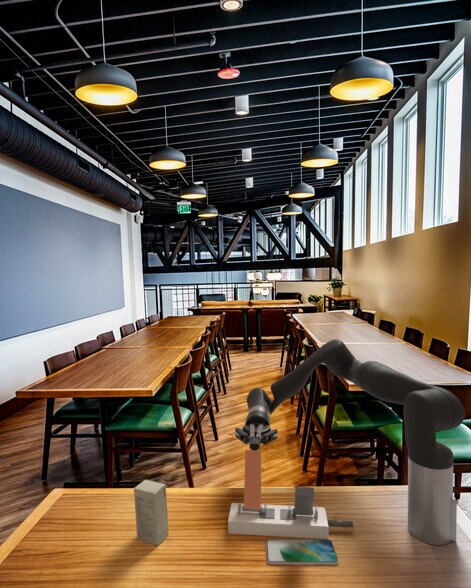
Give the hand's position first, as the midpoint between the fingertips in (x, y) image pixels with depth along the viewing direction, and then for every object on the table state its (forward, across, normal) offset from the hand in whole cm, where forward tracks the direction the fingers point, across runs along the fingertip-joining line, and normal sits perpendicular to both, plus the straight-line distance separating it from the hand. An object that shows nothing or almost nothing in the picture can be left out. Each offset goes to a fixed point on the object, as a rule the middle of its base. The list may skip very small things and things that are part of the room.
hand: (254, 447), depth 101 cm
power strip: (+11, -9, -14) cm, 20 cm away
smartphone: (+19, -11, -14) cm, 26 cm away
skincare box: (+17, +23, -14) cm, 32 cm away
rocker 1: (+11, 0, -10) cm, 15 cm away
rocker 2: (+10, -12, -10) cm, 19 cm away
